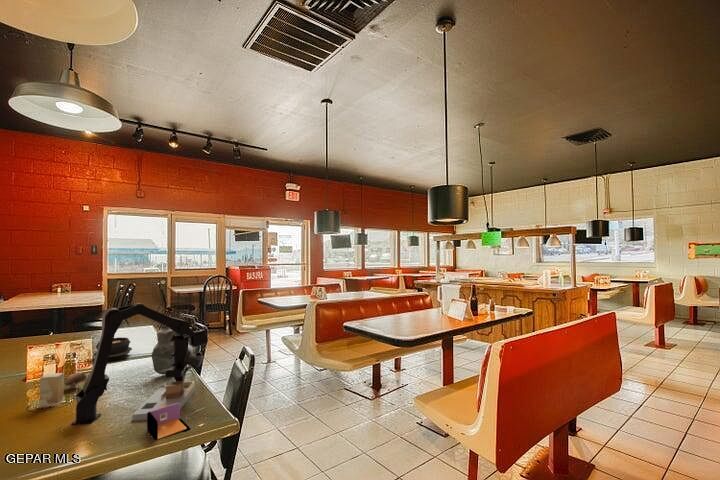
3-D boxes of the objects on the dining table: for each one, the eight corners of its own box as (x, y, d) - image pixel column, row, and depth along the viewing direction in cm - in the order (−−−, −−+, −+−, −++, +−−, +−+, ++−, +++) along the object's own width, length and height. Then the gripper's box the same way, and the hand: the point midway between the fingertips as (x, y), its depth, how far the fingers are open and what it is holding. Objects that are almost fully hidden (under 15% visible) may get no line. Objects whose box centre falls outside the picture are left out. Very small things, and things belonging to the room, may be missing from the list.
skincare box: (38, 409, 134) (38, 377, 135) (45, 404, 139) (45, 373, 139) (58, 407, 136) (58, 375, 136) (64, 402, 140) (64, 372, 141)
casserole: (89, 354, 205) (89, 339, 206) (126, 347, 219) (126, 334, 219) (98, 363, 188) (98, 348, 188) (137, 355, 202) (137, 341, 202)
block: (179, 398, 137) (179, 385, 137) (165, 399, 136) (165, 386, 137) (183, 392, 142) (183, 380, 142) (170, 393, 141) (170, 381, 141)
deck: (173, 418, 126) (173, 406, 126) (132, 421, 124) (132, 409, 124) (194, 391, 150) (194, 381, 150) (159, 393, 148) (159, 383, 148)
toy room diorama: (142, 432, 117) (142, 411, 117) (180, 419, 126) (180, 400, 126) (152, 446, 109) (152, 424, 109) (192, 431, 117) (192, 411, 117)
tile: (170, 416, 128) (170, 409, 128) (155, 417, 127) (155, 410, 127) (175, 409, 133) (175, 403, 133) (161, 410, 132) (161, 404, 132)
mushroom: (60, 389, 153) (60, 375, 153) (81, 383, 160) (81, 369, 160) (68, 393, 149) (68, 378, 149) (90, 386, 156) (90, 372, 157)
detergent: (180, 368, 178) (180, 320, 179) (182, 372, 172) (182, 322, 173) (151, 374, 171) (151, 323, 171) (151, 378, 165) (152, 326, 166)
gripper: (194, 355, 139) (194, 394, 138) (207, 342, 157) (207, 377, 157) (164, 356, 137) (164, 396, 136) (180, 344, 155) (180, 378, 155)
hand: (180, 386), depth 146 cm, fingers closed
